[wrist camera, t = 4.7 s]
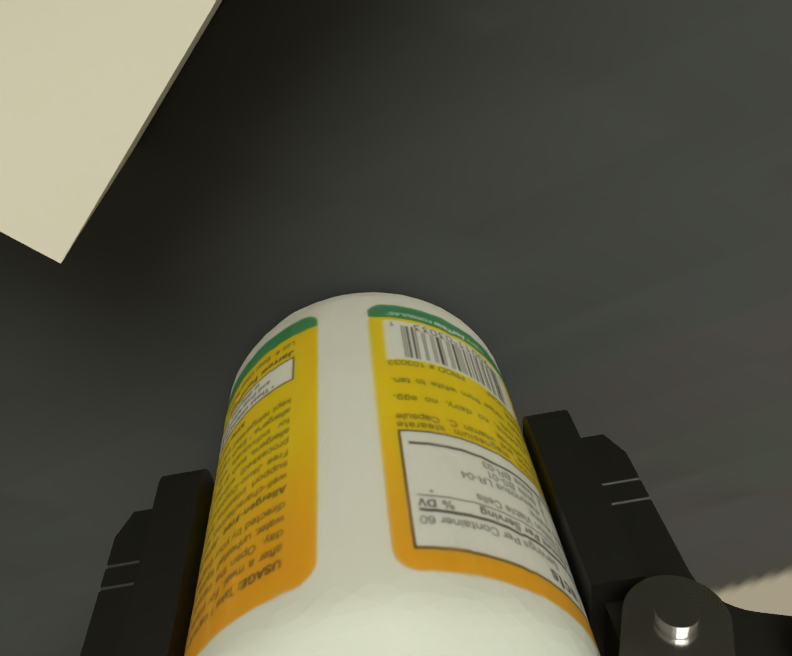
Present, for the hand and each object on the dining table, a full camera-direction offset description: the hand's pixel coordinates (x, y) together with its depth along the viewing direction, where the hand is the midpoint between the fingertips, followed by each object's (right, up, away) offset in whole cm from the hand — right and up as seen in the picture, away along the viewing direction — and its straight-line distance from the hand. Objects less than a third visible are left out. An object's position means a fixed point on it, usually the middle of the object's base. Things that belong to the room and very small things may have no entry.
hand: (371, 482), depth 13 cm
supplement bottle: (0, +1, +2) cm, 2 cm away
